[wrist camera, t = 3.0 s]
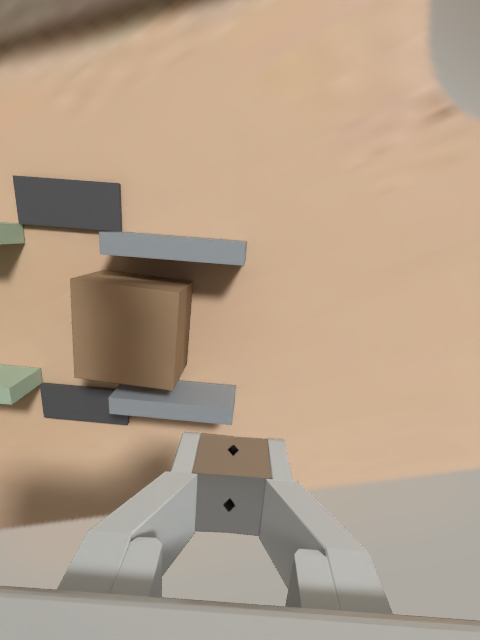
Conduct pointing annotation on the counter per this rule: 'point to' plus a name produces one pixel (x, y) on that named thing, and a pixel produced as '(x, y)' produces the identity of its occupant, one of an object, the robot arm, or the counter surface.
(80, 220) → the trap channel
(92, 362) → the walnut block
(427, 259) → the counter surface
